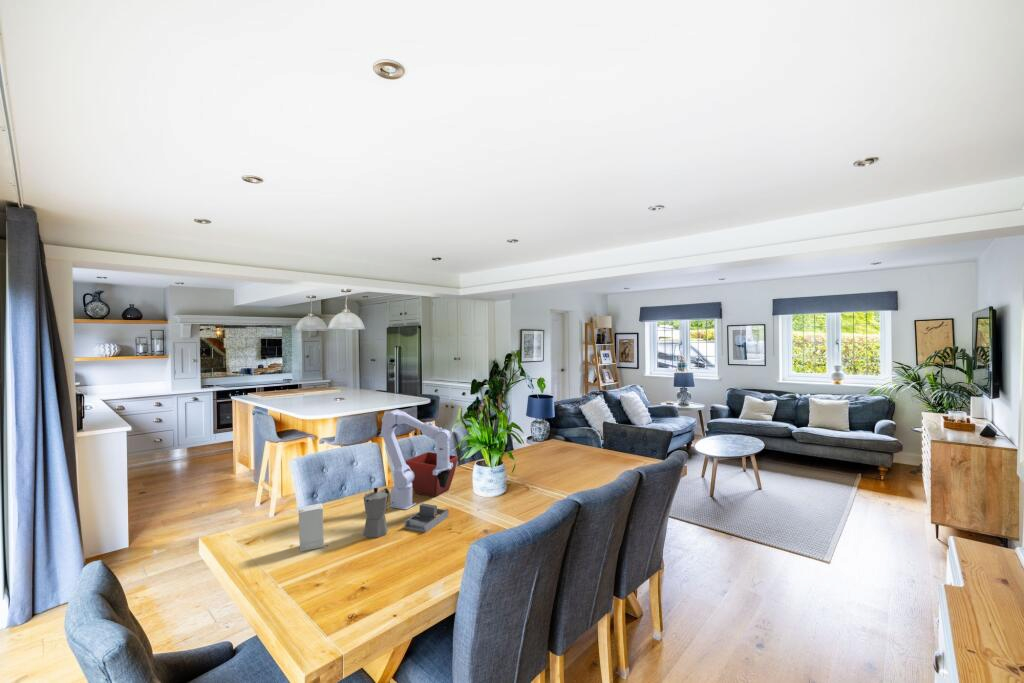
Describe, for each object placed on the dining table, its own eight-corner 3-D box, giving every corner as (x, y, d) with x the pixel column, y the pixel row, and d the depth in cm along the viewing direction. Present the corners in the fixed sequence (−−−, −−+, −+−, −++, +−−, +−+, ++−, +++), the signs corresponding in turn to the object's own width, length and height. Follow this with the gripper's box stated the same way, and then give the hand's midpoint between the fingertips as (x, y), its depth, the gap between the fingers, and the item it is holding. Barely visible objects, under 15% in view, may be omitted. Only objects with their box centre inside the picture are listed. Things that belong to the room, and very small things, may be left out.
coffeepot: (376, 542, 175) (376, 494, 174) (355, 538, 177) (355, 491, 177) (398, 526, 189) (398, 482, 189) (378, 523, 192) (378, 480, 192)
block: (419, 519, 193) (419, 505, 193) (422, 517, 195) (422, 503, 195) (433, 522, 191) (433, 507, 191) (436, 520, 193) (436, 505, 193)
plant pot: (436, 500, 219) (437, 465, 219) (404, 494, 227) (404, 460, 227) (458, 488, 236) (458, 456, 236) (427, 483, 245) (427, 451, 244)
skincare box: (322, 541, 175) (322, 502, 175) (323, 548, 169) (324, 507, 169) (298, 545, 171) (298, 505, 171) (298, 552, 166) (298, 511, 165)
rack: (404, 528, 187) (404, 519, 187) (428, 513, 203) (428, 504, 203) (425, 532, 183) (425, 523, 183) (448, 516, 200) (448, 507, 200)
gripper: (442, 461, 200) (442, 493, 201) (458, 454, 214) (458, 483, 214) (428, 460, 203) (428, 490, 203) (445, 452, 216) (445, 481, 217)
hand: (442, 486), depth 209 cm, fingers closed
